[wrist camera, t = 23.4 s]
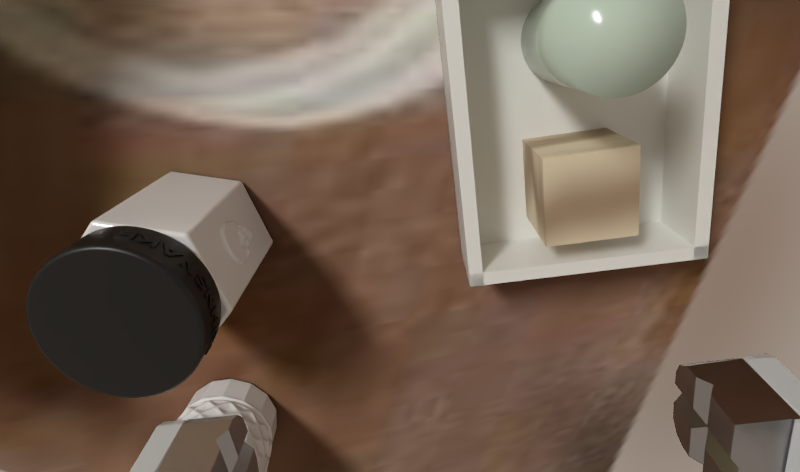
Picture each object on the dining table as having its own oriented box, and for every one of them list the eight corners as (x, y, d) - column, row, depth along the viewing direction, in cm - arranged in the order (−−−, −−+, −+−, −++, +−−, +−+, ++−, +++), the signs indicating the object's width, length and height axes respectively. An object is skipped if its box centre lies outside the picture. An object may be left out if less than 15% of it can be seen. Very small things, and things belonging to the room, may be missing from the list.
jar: (291, 267, 36) (241, 376, 25) (187, 306, 37) (95, 426, 26) (228, 147, 33) (139, 209, 22) (117, 193, 34) (-21, 274, 23)
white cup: (238, 353, 39) (186, 457, 29) (306, 423, 41) (277, 540, 32) (161, 403, 40) (89, 516, 31) (230, 467, 43) (182, 590, 34)
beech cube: (522, 139, 32) (542, 158, 27) (605, 127, 32) (640, 145, 27) (526, 216, 34) (546, 247, 29) (605, 206, 33) (638, 235, 29)
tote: (431, -38, 29) (436, -49, 24) (682, -77, 28) (737, -97, 24) (461, 252, 35) (470, 286, 31) (667, 227, 35) (707, 258, 30)
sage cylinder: (504, 23, 29) (536, 14, 21) (586, -32, 28) (654, -64, 20) (547, 100, 31) (592, 121, 22) (626, 51, 30) (706, 53, 21)
